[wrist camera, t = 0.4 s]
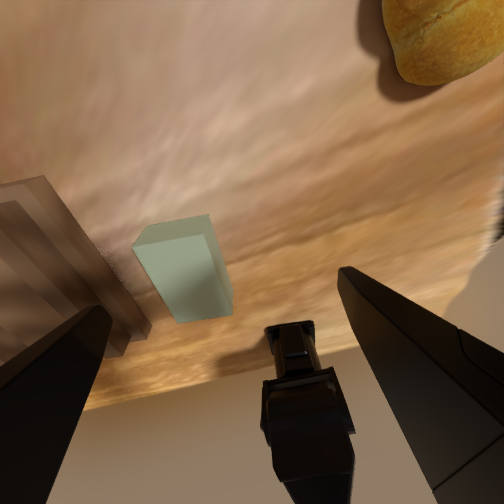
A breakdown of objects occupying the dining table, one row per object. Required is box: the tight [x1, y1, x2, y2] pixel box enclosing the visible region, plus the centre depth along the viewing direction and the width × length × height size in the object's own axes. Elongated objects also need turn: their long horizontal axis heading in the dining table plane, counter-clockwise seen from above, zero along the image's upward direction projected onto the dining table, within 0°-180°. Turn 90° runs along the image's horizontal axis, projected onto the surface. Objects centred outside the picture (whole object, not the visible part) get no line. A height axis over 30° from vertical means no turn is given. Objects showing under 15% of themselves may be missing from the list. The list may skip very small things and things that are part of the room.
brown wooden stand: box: [0, 175, 152, 366], centre depth 22 cm, size 20×18×4 cm
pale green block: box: [132, 214, 233, 324], centre depth 22 cm, size 10×6×4 cm, turn 10°
